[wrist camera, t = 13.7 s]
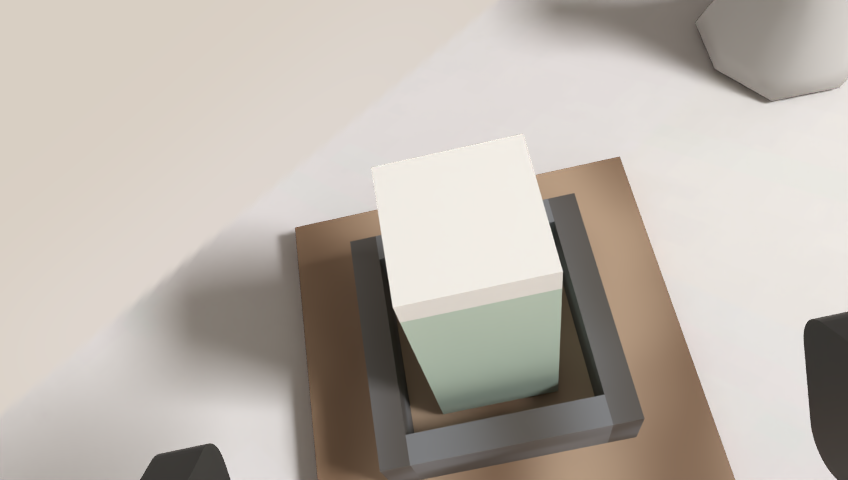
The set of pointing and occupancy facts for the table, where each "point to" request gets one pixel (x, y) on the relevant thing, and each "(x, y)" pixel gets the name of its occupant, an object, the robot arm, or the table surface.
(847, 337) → the robot arm
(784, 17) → the flask
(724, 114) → the table surface
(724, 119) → the table surface
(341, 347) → the docking plate
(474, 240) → the pale green tall block
